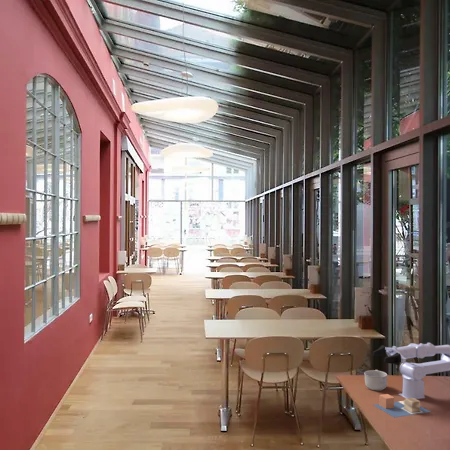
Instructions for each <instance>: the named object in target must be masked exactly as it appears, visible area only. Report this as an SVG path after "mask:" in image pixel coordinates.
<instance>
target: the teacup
mask: <svg viewBox="0 0 450 450" xmlns="http://www.w3.org/2000/svg"><path fill="white" fill-rule="evenodd" d="M363 374H364V384H365V386H366V387H367V388H368V390H372V391H379V392H380V391H384V389H386V388H387V386H388V374H387V373H386V372H385V371H382V370H378V369H375V370H374V369H372V370H365V371H364V373H363Z"/></svg>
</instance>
